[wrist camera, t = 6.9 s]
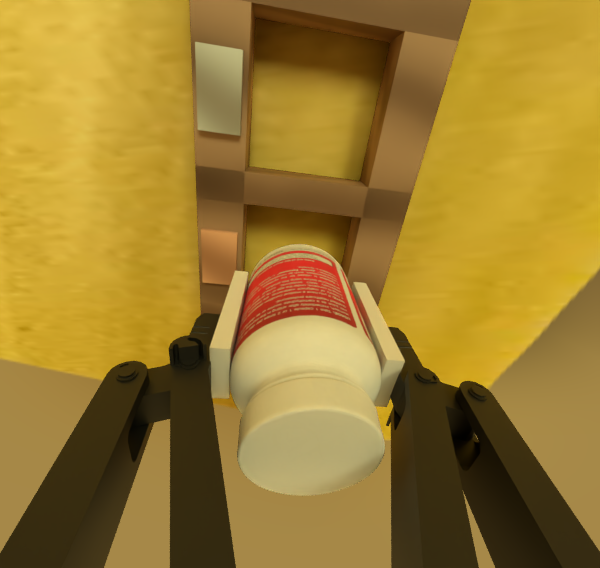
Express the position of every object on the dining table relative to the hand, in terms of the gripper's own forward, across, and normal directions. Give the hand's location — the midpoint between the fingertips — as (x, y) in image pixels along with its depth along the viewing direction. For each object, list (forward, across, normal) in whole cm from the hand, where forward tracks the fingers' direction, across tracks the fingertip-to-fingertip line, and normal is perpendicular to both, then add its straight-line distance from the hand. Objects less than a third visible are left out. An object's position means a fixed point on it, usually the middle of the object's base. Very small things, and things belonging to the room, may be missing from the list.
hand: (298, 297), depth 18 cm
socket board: (+7, 0, +5) cm, 9 cm away
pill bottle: (+2, 0, 0) cm, 2 cm away
